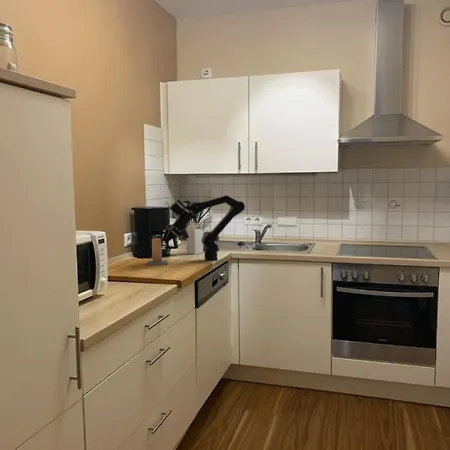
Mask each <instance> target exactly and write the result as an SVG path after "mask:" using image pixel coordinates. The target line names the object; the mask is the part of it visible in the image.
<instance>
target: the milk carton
mask: <svg viewBox="0 0 450 450" xmlns="http://www.w3.org/2000/svg"><path fill="white" fill-rule="evenodd" d="M185 230H186V231H187V233H188V236H189V238H187V239H186V254H187V255H188V254H189V255H199V254H204V250H203V244H202V241H201V240H202V238H203V237H202V236H203V235H204V233H203V228H202V227H201V226H200V224H199V222H189V225H188V227H186V228H185Z"/></svg>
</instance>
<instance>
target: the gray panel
mask: <svg viewBox="0 0 450 450" xmlns="http://www.w3.org/2000/svg"><path fill="white" fill-rule="evenodd" d="M145 264H146V265H145V266H161V265H162V266H163V265H164V266H165V265H168V259H162V262H159V263H154V262H153V260H146V263H145Z"/></svg>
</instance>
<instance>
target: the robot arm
mask: <svg viewBox="0 0 450 450" xmlns="http://www.w3.org/2000/svg"><path fill="white" fill-rule="evenodd" d="M222 204H227V205H228V206H230V208H229V209H228V211H227V213H226V214H225V215H224V216H223V218H222V219H221V220H220V221H219V222H218V223H217V224H216V225H215V227H214V228H213V229H212V230H210V231H208V230H207V231H205V232H206V233H205V235H204V234H203V236H202V237H203V238H202V240H201V241H202V244H203V245H204V246H205V248H207V249H206V251H204V260H205V261H207V262H208V261H210V262H211V261H218V260H219V259H218V251H217V248H218V245H216V244H215V241H216V239H217V236H219V235H220V234H221V232H223V231H224V229H225V228H226V227H227V226H228V224H230V222H231V221H232V220H233V219H234V218H236V216H238V215H240V214H241V213H242V212H243V211H244V210H245V208H246V207H245V206H246V204H245V203H244V202H243V201H242V200H241V201H240V200H239V201H238V200H237V199H234V198H232V197H230V196H229V195H227V194H226V195H225V194H224V195H222V196H219V197H215V198H212V199H209V200H205V201H194V202H191V203H190V204H188V205H185V204H183V203H182V202H181V201H180V200H179V199H177V200H175V201H174V202H173V203H172V204H171V205H170V206H169V208H168V209H169V210H170V211H172V213H174V214H175V215H176V216H177V215H179V217H178V218H176V219H175V221H174V222H173V223H172V224H168V225H166V227H165V230H164V232H163V236H162V238H161V242H163V243H164V244H167V243H169V242H170V241H172V240H173V239H178V238H180V237H181V239H182V240H184V241H185V240H187V238H189V236H188V233H187V231H186V229H187V225H188V223H190V221H192V220H193V221H196V220H197V219H196V215H195V214H198V213H201V212H202V211H205V210H206V209H207V208H208V209H209V208H211V207H215V206H219V205H222ZM188 211H189V212H188Z"/></svg>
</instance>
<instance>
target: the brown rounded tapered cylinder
mask: <svg viewBox="0 0 450 450" xmlns="http://www.w3.org/2000/svg"><path fill="white" fill-rule="evenodd" d="M151 252H152V255H151V256H152V259H151V260H152V261H153V262H154V263H159V262H162V260H163V258H162V257H163V256H162V238H158V237H157V238H151Z"/></svg>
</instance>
